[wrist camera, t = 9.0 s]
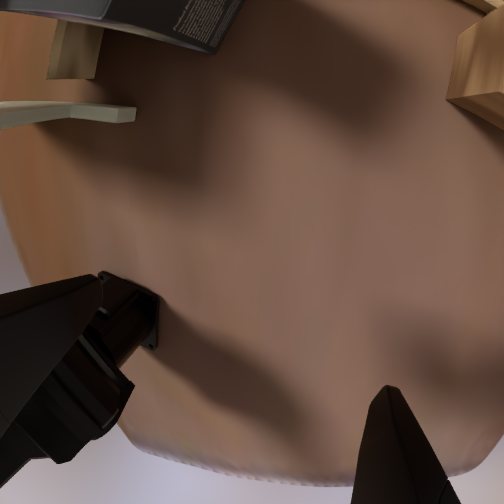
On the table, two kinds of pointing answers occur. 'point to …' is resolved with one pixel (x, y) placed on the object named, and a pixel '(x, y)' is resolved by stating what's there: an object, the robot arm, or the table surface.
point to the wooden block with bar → (460, 87)
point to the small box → (144, 17)
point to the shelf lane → (61, 112)
